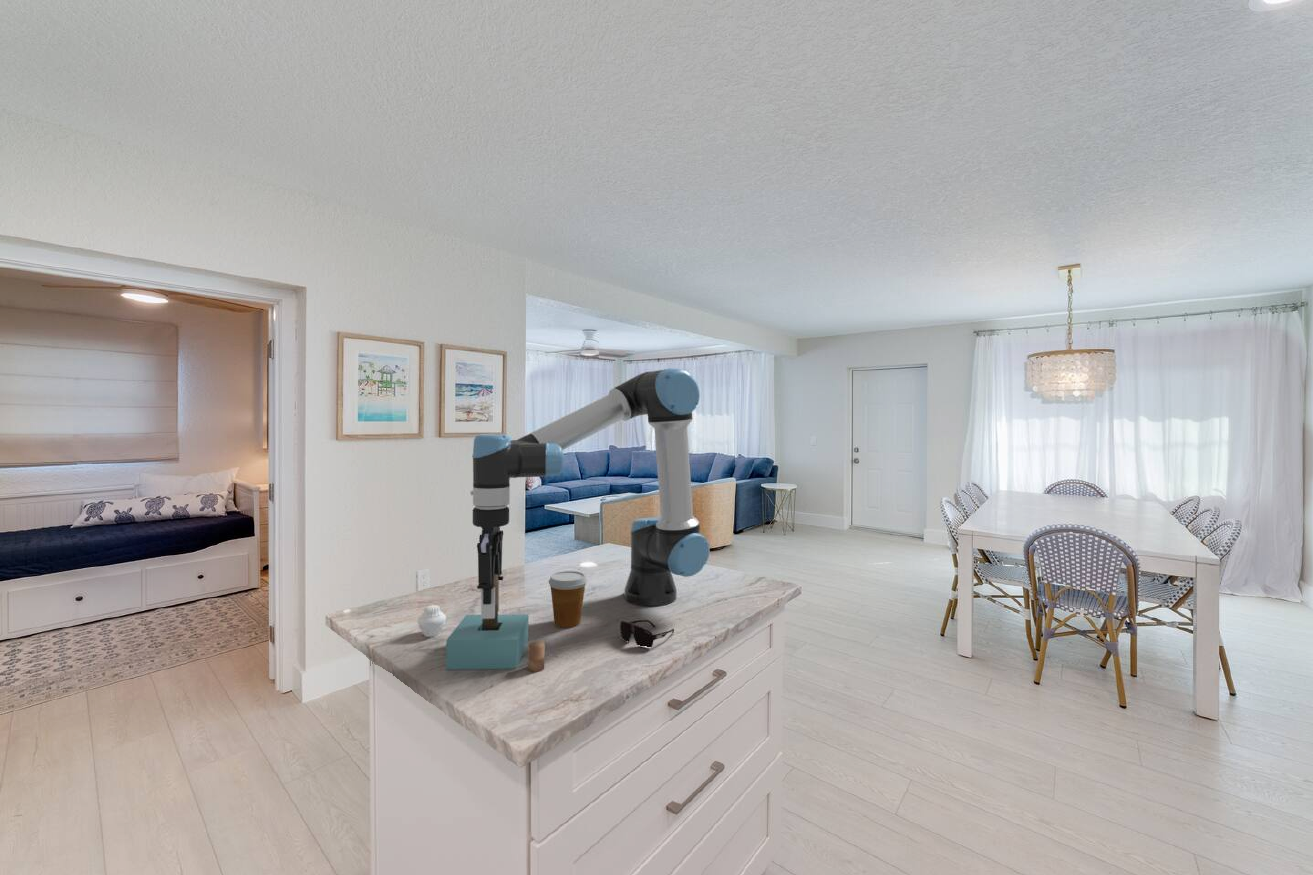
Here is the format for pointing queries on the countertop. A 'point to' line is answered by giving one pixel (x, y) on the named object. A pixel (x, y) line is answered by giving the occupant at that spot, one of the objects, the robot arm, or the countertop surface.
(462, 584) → the countertop surface
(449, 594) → the countertop surface
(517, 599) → the countertop surface
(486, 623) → the tall pin
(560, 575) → the disposable coffee cup
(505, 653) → the hole block
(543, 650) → the short pin
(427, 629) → the white ribbed jar
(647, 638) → the sunglasses
